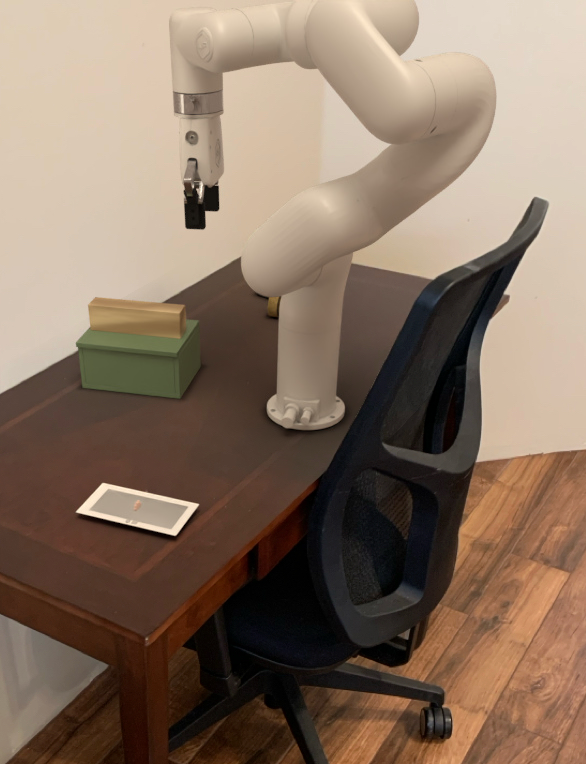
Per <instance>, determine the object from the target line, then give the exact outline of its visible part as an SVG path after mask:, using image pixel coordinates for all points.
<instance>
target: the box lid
mask: <svg viewBox="0 0 586 764" xmlns="http://www.w3.org/2000/svg"><path fill="white" fill-rule="evenodd" d="M198 326H199V327H200V320H198V319H188V318H186V332H185V333H184V334H183V336H182V337H181V339H178V338H168V337H157V336H147V335H137V334H127V333H116V332H106V331H96V330H91V329H90V326H89V327H88V328H87V329H86V331H85V332H84V333H83V334H82V335H81V336H80V337H79V338H78V339H77V340H76V341H75V347H76V348H78V347H82V348H91V349H101V350H111V351H121V352H130V353H140V354H150V355H160V356H169V357H178V355H179V354H180V352H181V351H182V349H183V348H184V347H185V345H186V344H187V342H188V341H189V339H190V338H191V336H192V335H193V333H194V332H195V331H196V329H197V328H198Z"/></svg>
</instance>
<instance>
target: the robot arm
mask: <svg viewBox="0 0 586 764" xmlns="http://www.w3.org/2000/svg"><path fill="white" fill-rule="evenodd" d="M419 25H420V13H419V8H418V6H417V3H416V1H415V0H290V1H281V2H275V3H266V4H265V3H263V4H259V5H258V4H257V5H249V6H248V5H247V6H240V7H233V8H229V9H221V10H217V9H216V8H213V7H208V6H190V7H189V6H188V7H181V8H178V9H175V10H173V11H172V12H171V14H170V16H169V20H168V30H169V49H170V66H171V67H170V69H171V84H172V85H171V88H172V103H173V104H172V105H173V116H174V117H176V118H179V131H178V133H179V167H180V168H179V169H180V180H181V184H182V185H183V187H184V189H183V208H184V209H183V210H184V227H185V229H186V230H200V231H203V230H205V229H206V227H207V223H206V218H207V217H206V212H219V211H220V186H219V183H220V182H219V180H220V179H221V178H222V177H223V175H224V173H225V159H224V158H225V157H224V145H223V131H222V130H223V129H222V122H221V121H222V120H221V116H222V115H223V114H224V112H225V111H224V110H225V109H224V73H229V72H235V71H239V70H244V69H249V68H255V67H261V66H267V65H272V64H283V63H293V62H294V63H295V64H296V65H297V66H299V67H300V68H302V69H305V70H318V71H319V73H320V75H322V77H323V78H324V80H325V81H326V82H327V83H328V84H329V86H330V87H331V88H332V89H333V91H334V92H335V93H336V94H337V95H338V96H339V98H340V99H341V101H343V102H344V104H345V105H346V106H347V108H348V109H349V110H350V111H351V113H353V115H354V116H355V117H356V118H357V120H358V121H359V122H360V123H361V124H362V126H363V127H364V128H365V129H366V130H367V131H368V132H369V133H370V134H371V135H372V136H374V137H375V138H376V139H378V140H380V141H381V142H383V143H386V144H389V145H388V146H387V147H385V148H384V149H383V150H382V151H381V152H380V153H379V154H378V155H377V156H376V157H374V158H373V159H372V160H371V161H370V162H368V163H367V164H365V165H364V166H363V167H362V168H359V169H358V170H357V171H355V172H354V173H350V174H348V175H344V176H342V177H338V178H335V179H332V180H329V181H326V182H322V183H319V184H316V185H314V186H311V187H308V188H306V189H304V190H303V191H301V192H299V193H298V194H296V195H294V196H293V197H291V198H290V199H289V200H288V201H287V202H286V203H285V204H283V205H282V206H281V207H280V208H279V209H277V211H275V212H274V213H273V214H271V216H269V217H268V218H267V219H266V220H265V221H264V222H263V223H261V224H260V225H259V226H258V227H257V228H256V229H255V230H254V231H253V232H252V233H251V234H250V236H248V238H247V239H246V241H245V243H244V244H243V245H244V246H243V248H242V250H241V251H242V252H241V257H240V267H241V268H240V269H241V273H242V275H243V276H242V277H243V279H244V281H245V283H246V284H247V286H248V287H249V288H250V289H251V290H252V291H254V292H255V293H256V294H257V293H258V294H260V295H263V296H266V297H279V296H282V297H281V301H280V308H279V317H278V326H277V327H278V330H277V332H278V333H277V365H276V367H277V369H276V371H277V372H276V393H275V394H274V395H272V396H271V397H270V398H269V399H268V401H267V402H266V414H267V416H268V417H269V418H270V420H272V421H273V422H274V423H275V424H277V425H279V426H282V427H283V428H284V429H292V430H297V431H317V430H318V431H319V430H323V429H327V428H329V427H332V426H334V425H336V424H338V423H339V422H340V421H342V420H343V418H344V416H345V413H346V405H345V403H344V401H343V399H341V398H340V397H339V396H337V386H338V373H339V359H340V347H341V346H340V344H341V331H342V320H343V311H344V310H343V309H344V299H345V292H346V285H347V282H348V278H349V274H350V270H351V266H352V262H353V258H354V253H355V252H358V251H360V250H363V249H365V248H368V247H369V246H371V245H374V243H376V242H378V241H379V240H380V239H381V238H382V237H384V236H385V235H387V233H389V232H390V231H392V230H393V229H394V228H395V227H396V226H398V225H399V224H401V223H402V222H403V221H405V220H406V219H408V218H409V217H411V215H413V214H414V213H415V212H417V211H418V210H419V209H421V208H422V207H423V206H424V205H426V204H427V203H428V202H429V201H431V200H433V199H434V198H435V197H436V196H438V195H439V194H440V193H442V192H443V191H444V190H446V189H447V188H449V186H450V185H452V184H453V183H454V182H455V181H457V179H459V177H461V176H462V175H463V174H464V173H465V172H466V171H467V169H468V168H469V167H470V166H471V165H472V164H473V163H474V161H475V160H476V159H477V158H478V156H479V154H480V153H481V151H482V150H483V148H484V147H485V145H486V142H487V141H488V138H489V137H490V133H491V131H492V127H493V125H494V120H495V117H496V116H495V115H496V110H497V87H496V86H497V85H496V82H495V78H494V74H493V72H492V70H491V69H490V67H489V66H488V64H486V63H485V62H484V61H483V60H482V59H481V58H480V57H478V56H475V55H473V54H470V53H466V52H457V51H452V52H443V53H438V54H432V55H427V56H422V57H417V58H414V59H408V60H404V59H403V58H402V57H401V56H402V55H404V54H405V53H406V52H407V51H408V50H409V49H410V48H411V46H412V44H413V43H414V41H415V39H416V37H417V34H418V31H419ZM260 295H259V296H260ZM263 296H262V297H263ZM266 297H265V298H266Z"/></svg>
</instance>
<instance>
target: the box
mask: <svg viewBox="0 0 586 764" xmlns="http://www.w3.org/2000/svg"><path fill="white" fill-rule="evenodd" d="M77 352H78V359H79V360H78V361H79V369H80V378H81V386H82V388H83V389H88V390H89V389H91V390H99V391H109V392H116V393H117V392H118V393H125V394H134V395H143V396H152V397H160V398H161V397H162V398H168V399H171V398H172V399H178V400H180V399H181V398H182V397H183V395H184V394H185V392H186V391H187V389H188V387H189V386H190V384H191V382H193V380H194V378H195V376H196V375H197V373H198V372H199V370H200V368H201V366H202V365H201V331H200V325H199V326H198V328H197V329H196V331H195V332H194V333H193V335H192V336H191V338H190V339H189V341H188V342H187V344H186V345H185V347H184V348H183V349H182V351H181V352H180V354H179V355H178V357H169V356H160V355H150V354H140V353H130V352H121V351H111V350H101V349H91V348H82V347H77Z"/></svg>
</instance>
